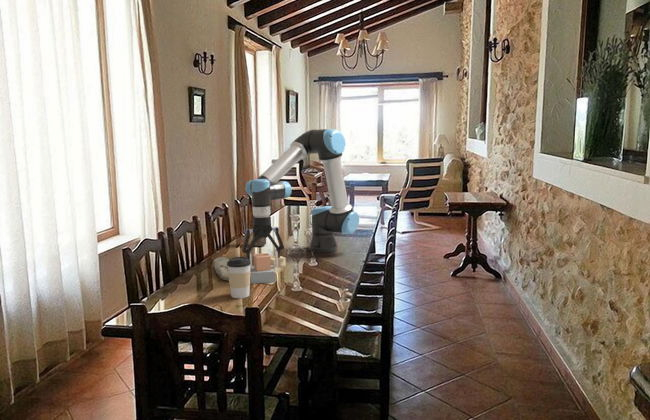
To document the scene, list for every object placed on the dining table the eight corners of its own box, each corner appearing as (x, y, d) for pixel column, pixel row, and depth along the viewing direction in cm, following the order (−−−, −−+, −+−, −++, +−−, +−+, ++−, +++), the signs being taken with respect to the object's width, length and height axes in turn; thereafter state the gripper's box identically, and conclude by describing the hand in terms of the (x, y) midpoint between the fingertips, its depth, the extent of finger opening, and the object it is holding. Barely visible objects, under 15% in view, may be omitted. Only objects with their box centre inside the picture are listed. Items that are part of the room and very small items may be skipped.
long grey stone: (230, 263, 242) (210, 267, 239) (229, 253, 241) (209, 256, 238) (243, 279, 209) (220, 283, 206) (242, 267, 209) (219, 271, 205)
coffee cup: (229, 292, 194) (228, 255, 192) (252, 291, 195) (251, 254, 192) (227, 299, 185) (225, 261, 183) (251, 298, 186) (249, 260, 183)
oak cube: (278, 267, 228) (278, 255, 227) (285, 270, 223) (285, 257, 222) (267, 270, 224) (267, 257, 223) (274, 273, 219) (274, 260, 218)
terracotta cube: (268, 266, 213) (267, 252, 212) (271, 269, 207) (270, 256, 206) (254, 267, 211) (253, 254, 210) (256, 271, 206) (256, 257, 205)
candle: (269, 244, 274) (267, 209, 271) (263, 247, 267) (261, 211, 264) (256, 243, 277) (255, 209, 273) (250, 246, 270) (249, 211, 267)
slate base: (273, 276, 216) (273, 265, 215) (275, 283, 206) (274, 271, 205) (250, 277, 214) (250, 266, 213) (251, 284, 204) (250, 273, 203)
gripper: (235, 219, 199) (238, 271, 203) (290, 215, 206) (292, 266, 210) (233, 216, 206) (235, 267, 210) (286, 212, 213) (287, 261, 217)
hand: (263, 266), depth 210 cm, fingers open, 10 cm apart
